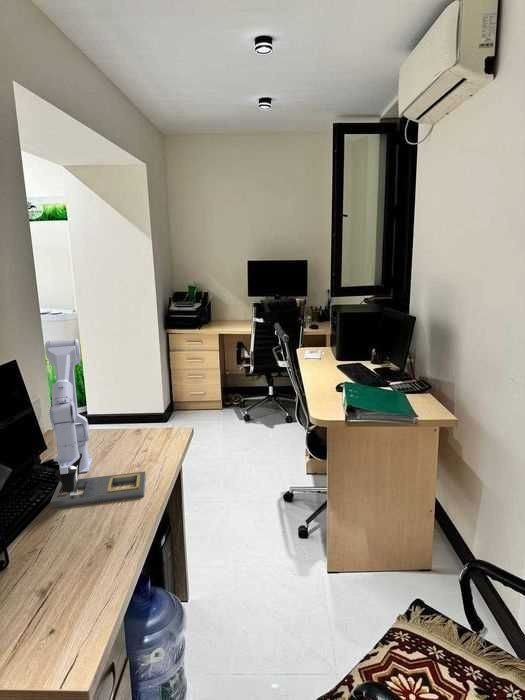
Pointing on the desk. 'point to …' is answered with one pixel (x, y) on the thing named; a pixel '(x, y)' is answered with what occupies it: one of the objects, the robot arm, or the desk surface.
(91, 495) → the grey board with holes
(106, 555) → the desk surface
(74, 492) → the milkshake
